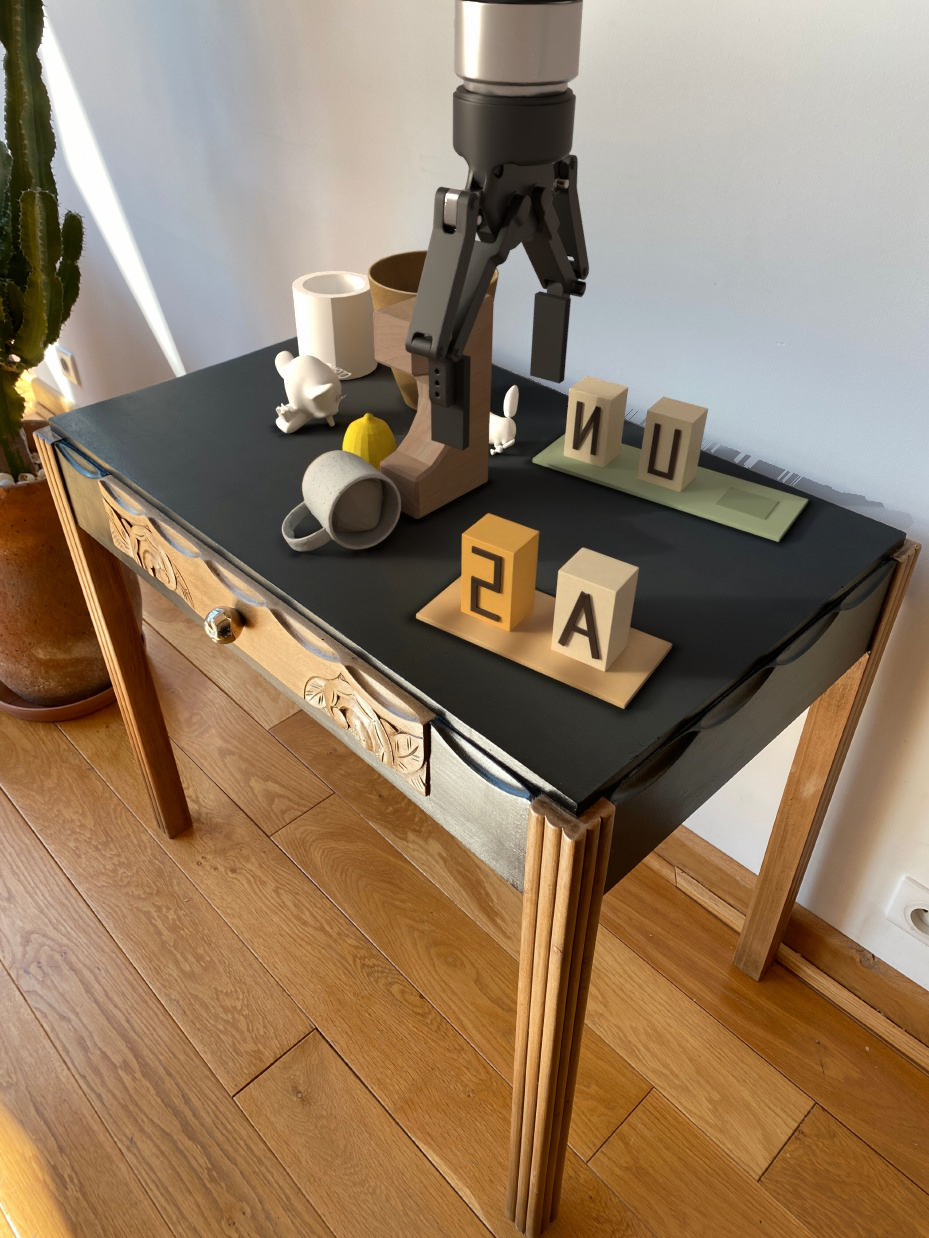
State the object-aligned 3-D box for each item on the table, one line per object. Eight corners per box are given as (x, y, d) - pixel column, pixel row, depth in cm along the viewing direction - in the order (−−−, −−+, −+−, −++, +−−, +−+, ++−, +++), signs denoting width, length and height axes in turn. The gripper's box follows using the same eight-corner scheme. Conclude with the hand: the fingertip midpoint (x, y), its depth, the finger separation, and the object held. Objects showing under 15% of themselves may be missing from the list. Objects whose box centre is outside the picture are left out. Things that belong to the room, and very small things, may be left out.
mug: (326, 337, 130) (320, 260, 124) (395, 345, 128) (392, 267, 122) (288, 375, 120) (278, 292, 114) (362, 384, 118) (357, 301, 112)
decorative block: (416, 522, 92) (412, 326, 80) (378, 501, 95) (368, 309, 83) (491, 483, 99) (498, 296, 86) (453, 465, 102) (454, 281, 89)
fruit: (371, 463, 102) (367, 395, 97) (408, 479, 99) (406, 410, 94) (334, 482, 98) (328, 413, 94) (372, 499, 96) (368, 429, 91)
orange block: (533, 608, 81) (539, 531, 76) (508, 633, 78) (512, 554, 73) (485, 589, 83) (488, 512, 78) (459, 612, 80) (460, 535, 75)
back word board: (807, 503, 96) (808, 498, 96) (778, 542, 90) (780, 537, 90) (571, 432, 108) (571, 427, 108) (532, 462, 102) (532, 457, 102)
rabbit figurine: (471, 456, 103) (466, 399, 107) (489, 472, 106) (484, 415, 110) (516, 436, 101) (510, 378, 104) (534, 452, 104) (528, 395, 107)
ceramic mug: (365, 500, 96) (360, 432, 91) (404, 537, 90) (401, 467, 85) (270, 530, 91) (259, 461, 86) (304, 571, 86) (295, 499, 81)
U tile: (695, 477, 99) (708, 408, 94) (679, 493, 97) (692, 423, 92) (652, 464, 101) (663, 396, 97) (636, 479, 99) (646, 410, 94)
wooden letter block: (620, 454, 103) (628, 387, 98) (602, 469, 100) (610, 400, 95) (580, 442, 105) (587, 375, 100) (562, 456, 103) (568, 388, 98)
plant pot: (358, 386, 118) (350, 257, 108) (466, 369, 122) (468, 244, 112) (397, 437, 107) (392, 299, 97) (513, 416, 111) (520, 282, 102)
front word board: (671, 648, 77) (672, 643, 77) (624, 709, 72) (625, 704, 71) (473, 569, 86) (473, 565, 86) (416, 618, 80) (415, 614, 80)
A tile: (627, 646, 77) (639, 567, 72) (603, 673, 74) (615, 593, 69) (574, 624, 79) (582, 546, 74) (549, 650, 76) (556, 571, 71)
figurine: (312, 465, 105) (382, 417, 107) (282, 407, 99) (357, 357, 101) (266, 425, 113) (333, 381, 115) (236, 369, 107) (306, 323, 109)
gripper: (561, 56, 66) (541, 345, 79) (333, 106, 49) (356, 460, 62) (658, 66, 63) (621, 365, 76) (448, 123, 46) (448, 492, 59)
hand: (501, 409), depth 69 cm, fingers open, 13 cm apart
